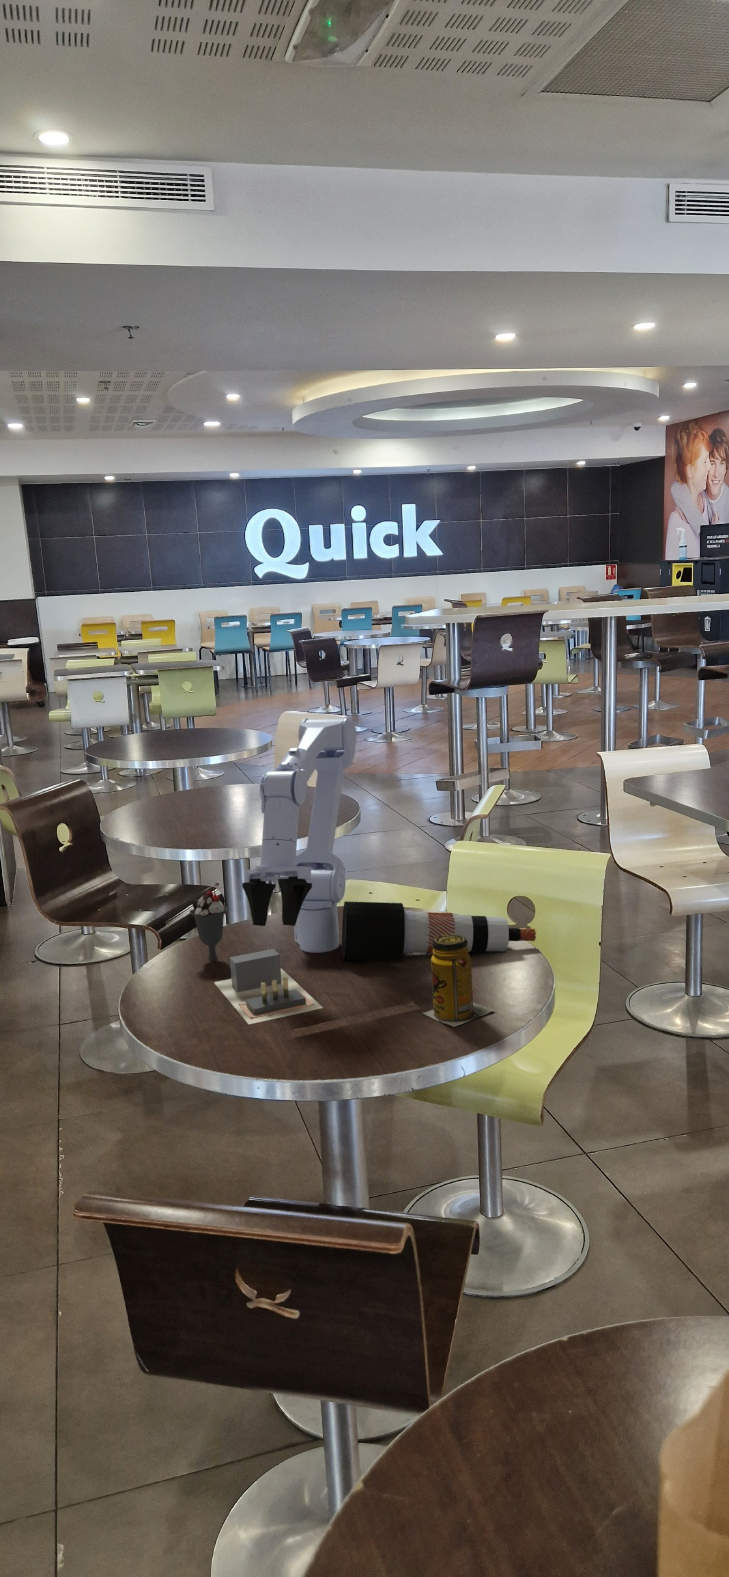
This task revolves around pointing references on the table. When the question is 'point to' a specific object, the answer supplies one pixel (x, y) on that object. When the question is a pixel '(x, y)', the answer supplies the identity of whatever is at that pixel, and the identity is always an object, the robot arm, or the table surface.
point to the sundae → (209, 920)
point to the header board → (269, 999)
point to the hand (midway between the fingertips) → (273, 925)
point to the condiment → (453, 982)
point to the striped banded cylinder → (417, 931)
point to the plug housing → (255, 970)
